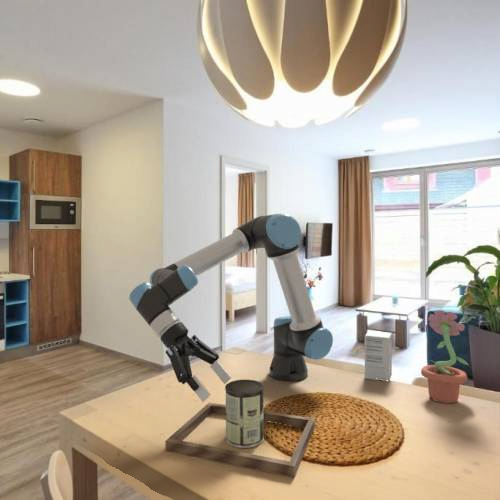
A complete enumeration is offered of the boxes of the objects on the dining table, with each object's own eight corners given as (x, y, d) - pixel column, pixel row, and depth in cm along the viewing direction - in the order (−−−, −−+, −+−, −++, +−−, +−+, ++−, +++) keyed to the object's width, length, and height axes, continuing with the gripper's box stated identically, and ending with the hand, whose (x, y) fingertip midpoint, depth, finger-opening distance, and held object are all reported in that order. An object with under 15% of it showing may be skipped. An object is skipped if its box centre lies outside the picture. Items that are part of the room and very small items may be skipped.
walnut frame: (165, 450, 97) (165, 440, 97) (209, 410, 120) (209, 402, 120) (294, 477, 86) (294, 466, 86) (314, 427, 109) (314, 418, 109)
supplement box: (368, 371, 158) (368, 330, 157) (392, 374, 154) (392, 332, 153) (364, 378, 149) (364, 335, 149) (389, 382, 145) (389, 337, 145)
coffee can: (242, 425, 110) (242, 376, 110) (271, 437, 104) (271, 385, 103) (217, 439, 102) (217, 386, 102) (246, 453, 96) (246, 396, 96)
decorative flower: (476, 400, 128) (477, 309, 128) (463, 412, 119) (463, 315, 118) (430, 388, 139) (430, 304, 139) (414, 399, 129) (414, 309, 129)
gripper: (183, 329, 122) (227, 382, 117) (134, 349, 99) (186, 416, 94) (199, 313, 120) (243, 366, 115) (152, 330, 97) (206, 397, 92)
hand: (218, 389), depth 105 cm, fingers open, 13 cm apart
